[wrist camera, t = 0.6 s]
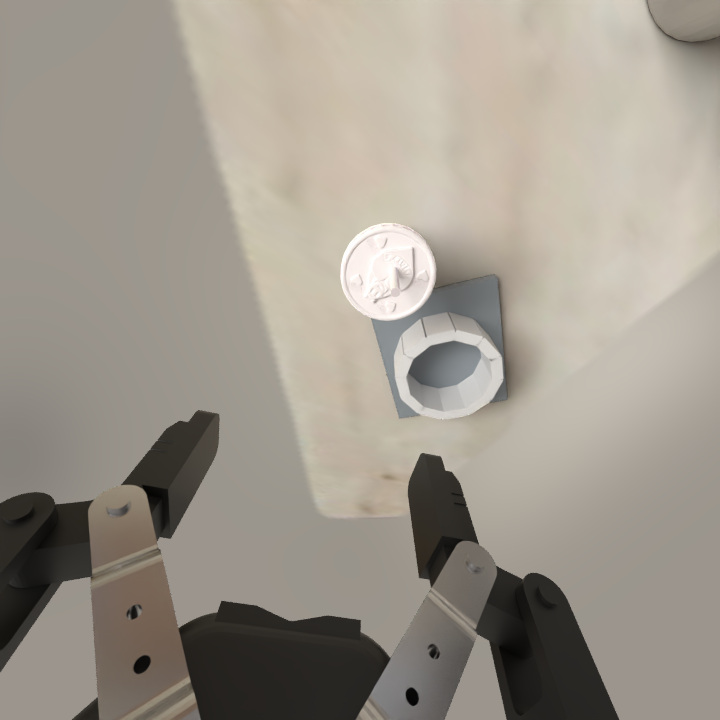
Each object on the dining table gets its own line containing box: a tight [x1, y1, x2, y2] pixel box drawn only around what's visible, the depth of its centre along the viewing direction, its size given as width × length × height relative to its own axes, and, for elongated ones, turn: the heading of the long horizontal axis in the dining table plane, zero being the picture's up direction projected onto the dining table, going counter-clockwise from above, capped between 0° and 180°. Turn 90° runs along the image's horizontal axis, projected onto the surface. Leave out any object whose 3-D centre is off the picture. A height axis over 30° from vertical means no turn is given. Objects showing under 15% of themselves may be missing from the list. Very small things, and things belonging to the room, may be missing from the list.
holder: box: [371, 274, 507, 420], centre depth 33 cm, size 12×14×5 cm
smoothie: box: [341, 223, 436, 321], centre depth 24 cm, size 6×6×14 cm
